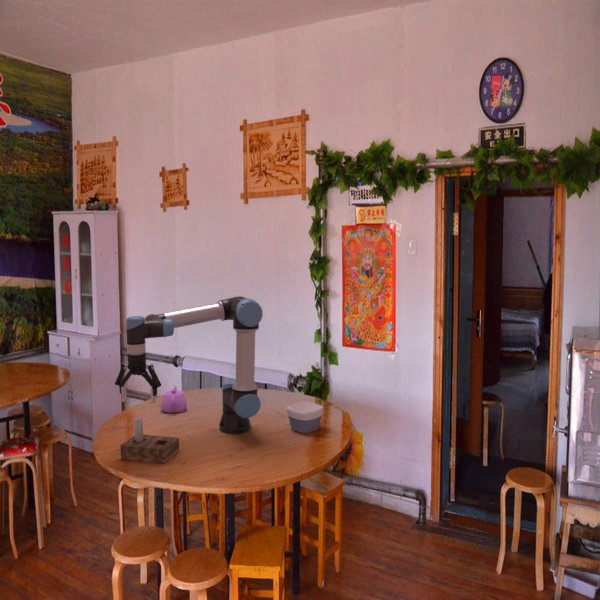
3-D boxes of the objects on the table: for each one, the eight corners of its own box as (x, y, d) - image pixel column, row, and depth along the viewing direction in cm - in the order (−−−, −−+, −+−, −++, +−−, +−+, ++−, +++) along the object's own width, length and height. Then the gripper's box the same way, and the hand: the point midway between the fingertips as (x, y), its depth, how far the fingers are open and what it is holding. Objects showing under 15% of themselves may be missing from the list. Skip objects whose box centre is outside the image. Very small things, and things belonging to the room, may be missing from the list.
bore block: (179, 451, 258) (178, 437, 257) (164, 463, 245) (164, 449, 244) (137, 447, 263) (136, 433, 262) (120, 459, 249) (120, 445, 248)
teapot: (188, 403, 326) (187, 384, 325) (186, 415, 306) (185, 394, 305) (163, 404, 324) (162, 384, 323) (159, 416, 305) (159, 395, 303)
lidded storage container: (327, 429, 287) (327, 406, 285) (305, 437, 275) (306, 414, 274) (303, 421, 297) (304, 400, 296) (282, 429, 286) (282, 407, 284)
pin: (145, 449, 256) (144, 418, 254) (141, 452, 253) (140, 420, 251) (137, 448, 257) (136, 417, 255) (134, 451, 253) (132, 420, 251)
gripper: (168, 352, 250) (169, 401, 253) (114, 350, 256) (116, 397, 258) (159, 356, 243) (161, 406, 245) (105, 353, 248) (107, 402, 251)
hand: (138, 402), depth 252 cm, fingers open, 13 cm apart
